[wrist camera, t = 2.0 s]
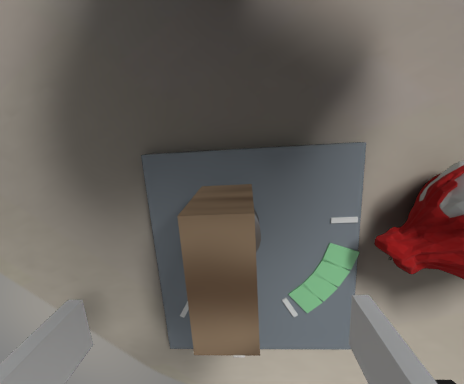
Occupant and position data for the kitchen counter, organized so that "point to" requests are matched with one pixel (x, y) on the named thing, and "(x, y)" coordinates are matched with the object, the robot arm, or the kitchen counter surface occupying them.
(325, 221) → the dial board
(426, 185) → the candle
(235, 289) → the knob
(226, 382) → the kitchen counter surface
